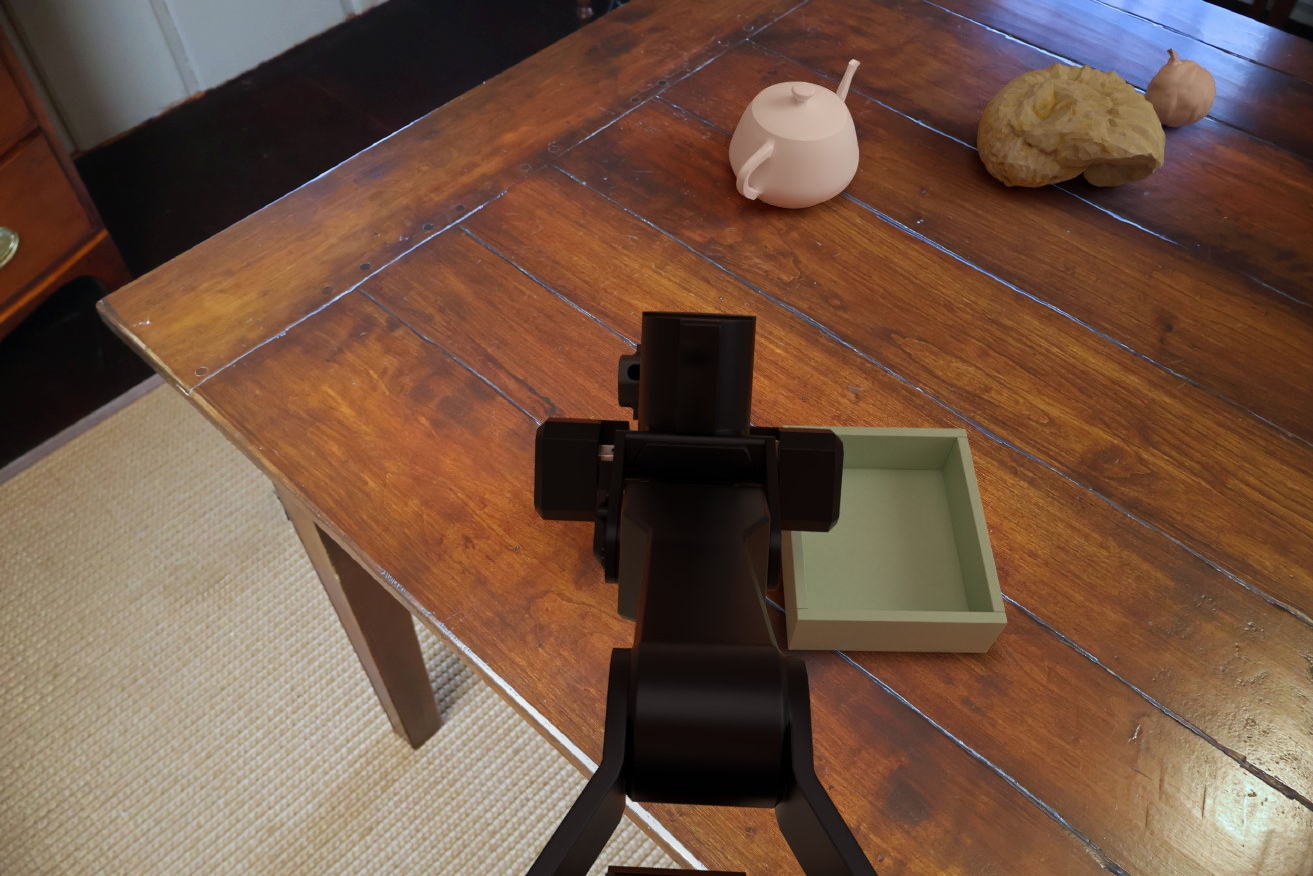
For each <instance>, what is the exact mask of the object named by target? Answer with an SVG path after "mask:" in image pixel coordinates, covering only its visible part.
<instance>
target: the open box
mask: <svg viewBox="0 0 1313 876" xmlns="http://www.w3.org/2000/svg"><path fill="white" fill-rule="evenodd" d="M781 427H783V428H788V427H793V428H816V429H831V430H832V431H833V432H834V433H835V434H836V435H837V436H838V437H839V438H840V440H841V441H842V442H843V448H844V460H843V474H842V488H841V502H840V516H839V519H838V522H837V524H836V525H835V526H834V527H833V528H832V529H831V530H830V531H829V532H828V533H827V532H805V531H782V530H781V534H782V551H781V569H782V583H783V596H784V609H785V611H784V612H785V623H786V624H785V625H786V626H785V627H786V638H787V649H788V650H791V651H792V650H793V651H794V650H796V651H846V652H847V651H848V652H849V651H851V652H852V651H853V652H901V653H903V652H905V653H906V652H908V653H909V652H910V653H965V654H966V653H967V654H969V653H970V654H987V653H988V651H989V650H990V648H991V647H992V646H993V644H994V642H995V641H996V640H997V639H998V637H999V635H1001V633H1002V632H1003V631H1004V629H1005V628H1006V627H1007V626H1008V617H1007V614H1006V609H1005V604H1004V600H1003V595H1002V590H1001V585H1000V581H999V576H998V572H997V568H996V563H995V559H994V553H993V549H992V544H991V539H990V536H989V530H988V526H987V522H986V516H985V512H984V507H983V503H982V498H981V493H980V489H979V484H978V480H977V475H976V471H975V466H974V461H973V457H972V452H971V448H970V444H969V439H968V434H967V430H966V428H952V427H951V428H947V427H945V428H944V427H943V428H942V427H899V426H898V427H897V426H896V427H894V426H893V427H891V426H890V427H889V426H843V425H842V426H840V425H839V426H838V425H837V426H835V425H834V426H833V425H790V424H789V425H787V424H786V425H785V424H783V425H782V426H781Z"/></svg>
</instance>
